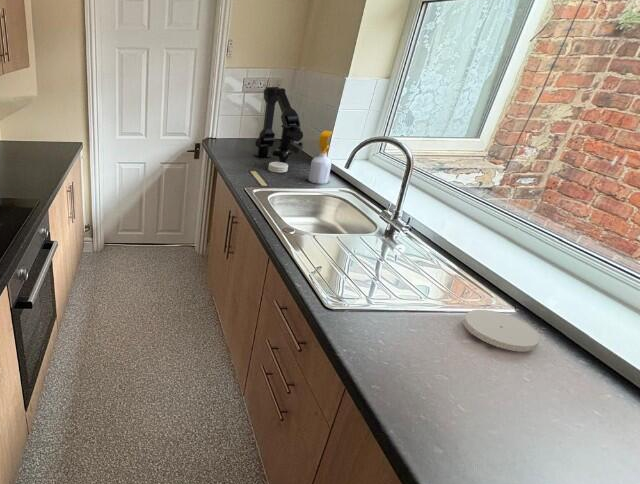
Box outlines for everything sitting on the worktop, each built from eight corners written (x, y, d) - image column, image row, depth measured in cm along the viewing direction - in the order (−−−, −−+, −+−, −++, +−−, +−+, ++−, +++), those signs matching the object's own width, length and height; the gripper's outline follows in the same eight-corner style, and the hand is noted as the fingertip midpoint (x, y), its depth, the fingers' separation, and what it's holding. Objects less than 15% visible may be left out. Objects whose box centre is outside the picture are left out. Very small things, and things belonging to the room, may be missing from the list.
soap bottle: (330, 180, 207) (340, 131, 196) (323, 185, 201) (333, 134, 190) (312, 177, 212) (321, 128, 201) (305, 181, 206) (314, 131, 195)
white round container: (289, 173, 219) (290, 166, 218) (270, 173, 220) (271, 166, 218) (284, 167, 228) (285, 161, 226) (265, 167, 228) (266, 161, 227)
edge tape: (250, 171, 223) (250, 171, 223) (255, 171, 223) (255, 171, 223) (261, 185, 202) (261, 185, 202) (267, 185, 202) (267, 185, 201)
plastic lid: (552, 352, 95) (557, 343, 94) (496, 357, 94) (500, 348, 93) (497, 315, 108) (501, 307, 106) (447, 319, 106) (451, 311, 105)
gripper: (295, 142, 209) (290, 172, 216) (308, 135, 222) (304, 164, 229) (273, 139, 216) (270, 168, 223) (288, 133, 228) (284, 160, 235)
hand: (282, 165), depth 227 cm, fingers closed
